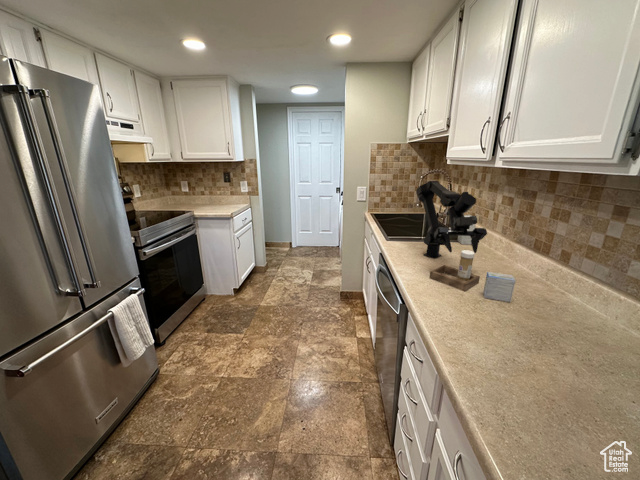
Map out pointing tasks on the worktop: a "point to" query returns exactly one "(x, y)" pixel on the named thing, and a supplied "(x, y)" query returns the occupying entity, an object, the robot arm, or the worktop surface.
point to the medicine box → (499, 286)
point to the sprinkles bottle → (465, 265)
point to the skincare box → (466, 239)
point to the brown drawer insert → (453, 278)
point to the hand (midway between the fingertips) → (463, 252)
